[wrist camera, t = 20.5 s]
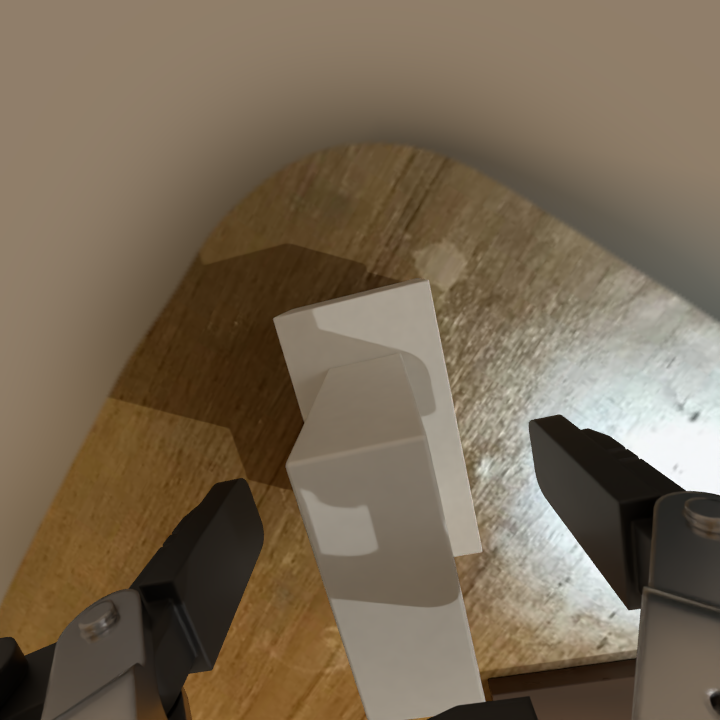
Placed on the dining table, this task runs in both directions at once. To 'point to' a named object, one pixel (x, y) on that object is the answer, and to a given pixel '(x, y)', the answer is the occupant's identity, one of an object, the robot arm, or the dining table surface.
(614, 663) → the board
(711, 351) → the dining table surface
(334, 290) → the dining table surface
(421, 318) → the white stepped wedge block
